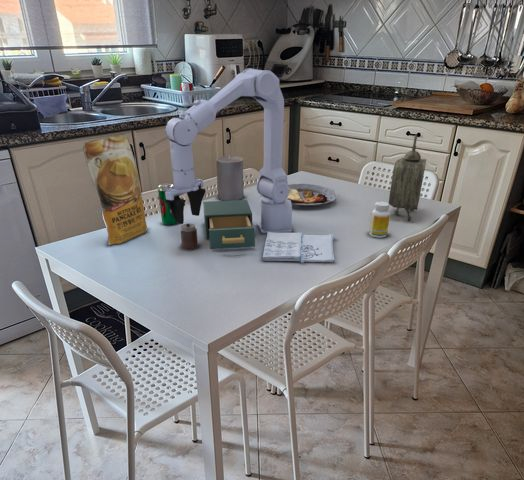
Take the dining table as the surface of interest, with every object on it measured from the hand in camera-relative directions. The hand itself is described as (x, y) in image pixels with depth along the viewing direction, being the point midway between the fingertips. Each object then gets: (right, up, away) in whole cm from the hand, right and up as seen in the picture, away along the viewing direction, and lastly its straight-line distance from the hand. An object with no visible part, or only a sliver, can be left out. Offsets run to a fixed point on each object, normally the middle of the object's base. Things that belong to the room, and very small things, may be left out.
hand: (187, 219), depth 135 cm
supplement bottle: (+56, -2, +12) cm, 57 cm away
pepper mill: (0, -7, +5) cm, 8 cm away
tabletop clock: (+68, +8, +27) cm, 73 cm away
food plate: (+36, +18, +42) cm, 58 cm away
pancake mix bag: (-21, -2, +12) cm, 24 cm away
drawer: (+12, -5, +5) cm, 14 cm away
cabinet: (+10, +1, +16) cm, 19 cm away
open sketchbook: (+32, -8, +3) cm, 33 cm away
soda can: (-9, +4, +21) cm, 23 cm away
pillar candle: (+9, +20, +44) cm, 49 cm away
